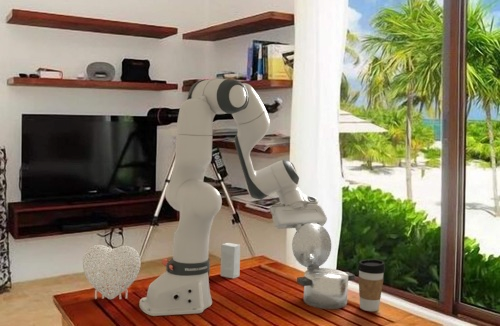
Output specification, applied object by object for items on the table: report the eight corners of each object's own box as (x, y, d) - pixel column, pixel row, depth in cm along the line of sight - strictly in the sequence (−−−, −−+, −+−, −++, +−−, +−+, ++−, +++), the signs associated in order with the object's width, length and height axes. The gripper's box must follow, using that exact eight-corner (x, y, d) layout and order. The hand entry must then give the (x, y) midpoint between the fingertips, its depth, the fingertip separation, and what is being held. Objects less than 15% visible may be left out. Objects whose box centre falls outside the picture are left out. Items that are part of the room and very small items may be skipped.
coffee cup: (385, 313, 157) (388, 265, 156) (358, 312, 157) (360, 264, 156) (379, 303, 165) (382, 258, 164) (353, 302, 166) (355, 257, 164)
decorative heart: (143, 294, 167) (144, 242, 166) (135, 305, 156) (136, 250, 155) (88, 292, 167) (88, 240, 165) (77, 303, 156) (77, 248, 155)
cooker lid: (292, 224, 170) (289, 224, 172) (294, 271, 169) (291, 271, 171) (330, 222, 177) (326, 222, 179) (332, 267, 175) (328, 267, 178)
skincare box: (239, 276, 190) (240, 244, 189) (233, 279, 186) (234, 246, 185) (226, 273, 193) (227, 242, 192) (219, 275, 189) (220, 244, 188)
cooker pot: (310, 312, 156) (312, 283, 155) (288, 297, 168) (289, 271, 168) (362, 304, 164) (364, 277, 163) (337, 291, 177) (339, 265, 176)
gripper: (271, 199, 178) (283, 233, 170) (321, 198, 186) (335, 229, 178) (265, 210, 182) (277, 243, 174) (313, 208, 191) (327, 239, 183)
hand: (306, 236), depth 176 cm, fingers closed
